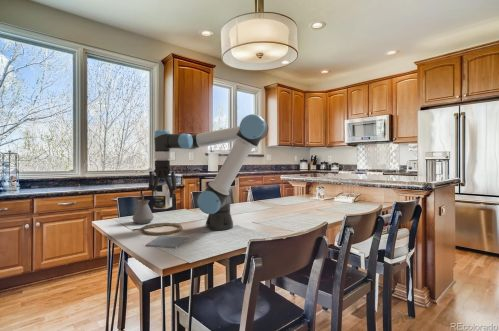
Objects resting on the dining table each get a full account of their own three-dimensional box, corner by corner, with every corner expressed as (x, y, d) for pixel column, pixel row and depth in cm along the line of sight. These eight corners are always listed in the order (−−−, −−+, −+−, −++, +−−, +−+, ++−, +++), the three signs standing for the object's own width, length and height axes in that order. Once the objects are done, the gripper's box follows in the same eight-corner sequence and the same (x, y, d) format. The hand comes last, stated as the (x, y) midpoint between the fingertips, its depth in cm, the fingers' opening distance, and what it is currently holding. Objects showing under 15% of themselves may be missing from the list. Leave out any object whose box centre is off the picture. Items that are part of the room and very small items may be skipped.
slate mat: (188, 238, 132) (188, 237, 132) (176, 247, 118) (176, 246, 118) (160, 236, 134) (160, 235, 134) (145, 245, 120) (145, 244, 120)
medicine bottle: (152, 208, 143) (152, 185, 143) (159, 206, 150) (159, 184, 150) (165, 209, 142) (165, 185, 142) (172, 206, 149) (171, 184, 149)
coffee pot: (154, 224, 159) (154, 197, 158) (132, 225, 154) (132, 198, 154) (152, 216, 178) (152, 192, 178) (133, 217, 174) (133, 193, 174)
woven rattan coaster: (187, 225, 155) (187, 223, 155) (172, 236, 135) (172, 233, 135) (153, 224, 158) (153, 222, 158) (132, 233, 138) (132, 231, 138)
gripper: (183, 159, 148) (183, 202, 148) (147, 159, 151) (148, 202, 151) (177, 160, 140) (178, 205, 141) (140, 159, 143) (140, 204, 144)
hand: (162, 203), depth 146 cm, fingers closed on medicine bottle, 7 cm apart
